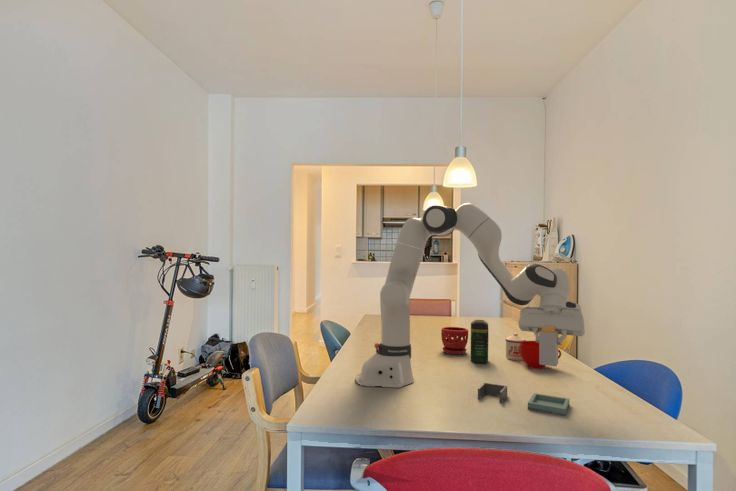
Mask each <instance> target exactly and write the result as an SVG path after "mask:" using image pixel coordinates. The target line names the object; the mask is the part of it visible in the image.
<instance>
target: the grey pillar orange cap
mask: <svg viewBox="0 0 736 491" xmlns="http://www.w3.org/2000/svg"><path fill="white" fill-rule="evenodd" d="M538 336H539V364H540V365H546V366H551V367H557V366H558V364H559V359H558V356H559V352H558V349H559V345H557V337H559V334H558V331H556V326H547V325H543V326H542V330H541V331H539V333H538Z"/></svg>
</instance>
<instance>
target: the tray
mask: <svg viewBox="0 0 736 491" xmlns="http://www.w3.org/2000/svg"><path fill="white" fill-rule="evenodd" d="M569 407H570V398H568V397H561V396H556V395H555V396H554V395H549V394H543V393H537V392H533V393H532V395H531V397H530V398H529V400H528V401H527V410H531V411H536V412H540V413H541V412H542V413H547V414H551V415H552V414H553V415H557V416H563V417H564V416H565V417H566V415H567V412H568V411H569Z"/></svg>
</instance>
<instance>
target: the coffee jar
mask: <svg viewBox="0 0 736 491" xmlns="http://www.w3.org/2000/svg"><path fill="white" fill-rule="evenodd" d="M488 361H489V323H488V322H487V321H486V320H483V319H475V320H473V321H471V323H470V362H472V363H473V362H474V363H477V364H483V363H484V364H485V363H487V362H488Z"/></svg>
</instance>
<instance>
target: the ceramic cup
mask: <svg viewBox="0 0 736 491" xmlns="http://www.w3.org/2000/svg"><path fill="white" fill-rule="evenodd" d="M520 351H521V356H522V359H523V360H522V361H523V362H524V363H525V364H526V366H527V367H528V368H531V369H544V367H546V366H547V365H540V364H539V343H537V342H536V340H526V341H522V342H520ZM561 357H562V351H561V350H560V349H559V348H558V360H559V359H561Z"/></svg>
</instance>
